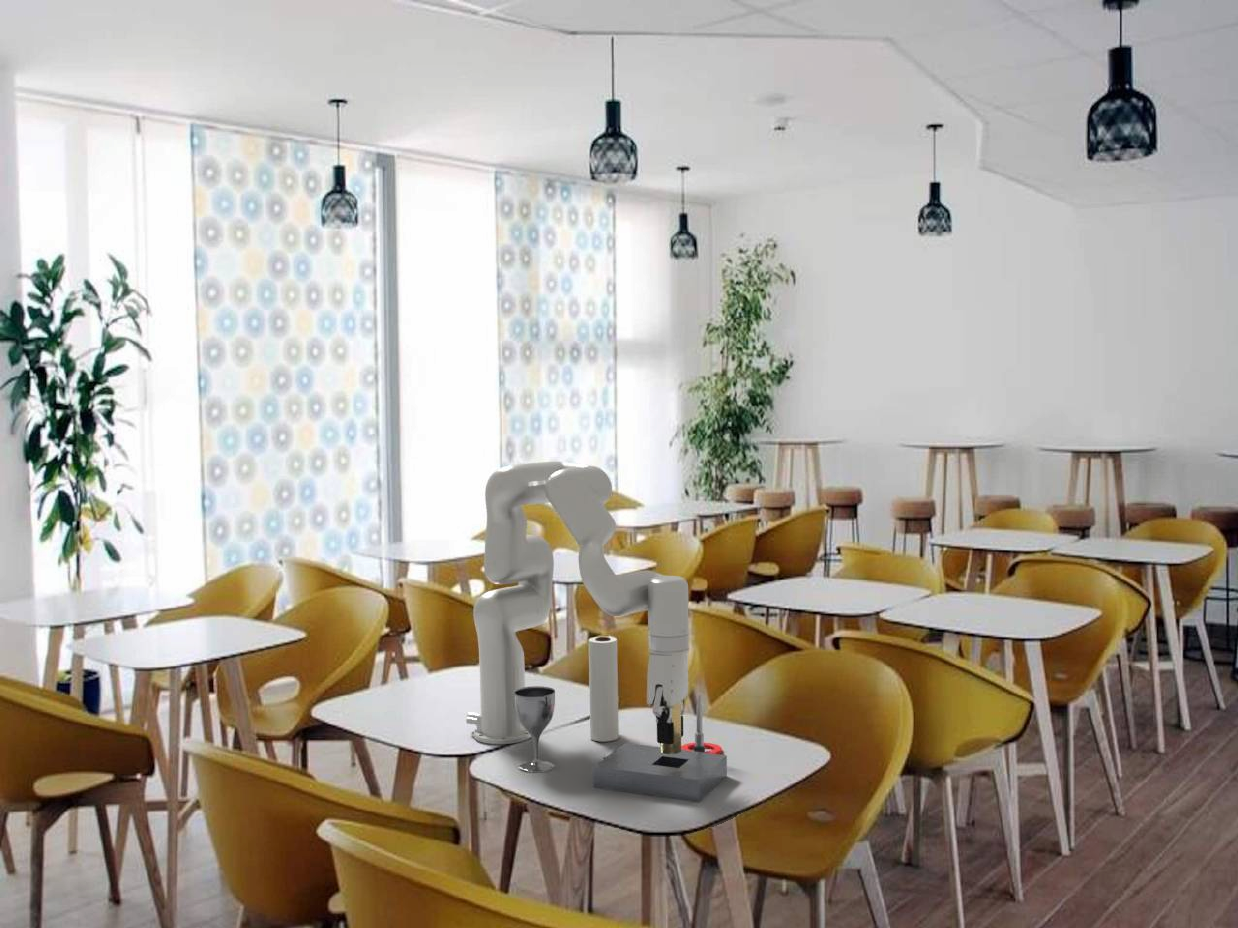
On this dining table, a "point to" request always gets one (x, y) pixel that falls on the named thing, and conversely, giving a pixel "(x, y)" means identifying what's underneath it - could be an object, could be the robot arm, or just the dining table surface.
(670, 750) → the brass pin
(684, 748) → the tow hook
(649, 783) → the grey block with hole
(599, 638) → the paper towel roll
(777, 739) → the dining table surface
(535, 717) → the wine glass
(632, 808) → the dining table surface
